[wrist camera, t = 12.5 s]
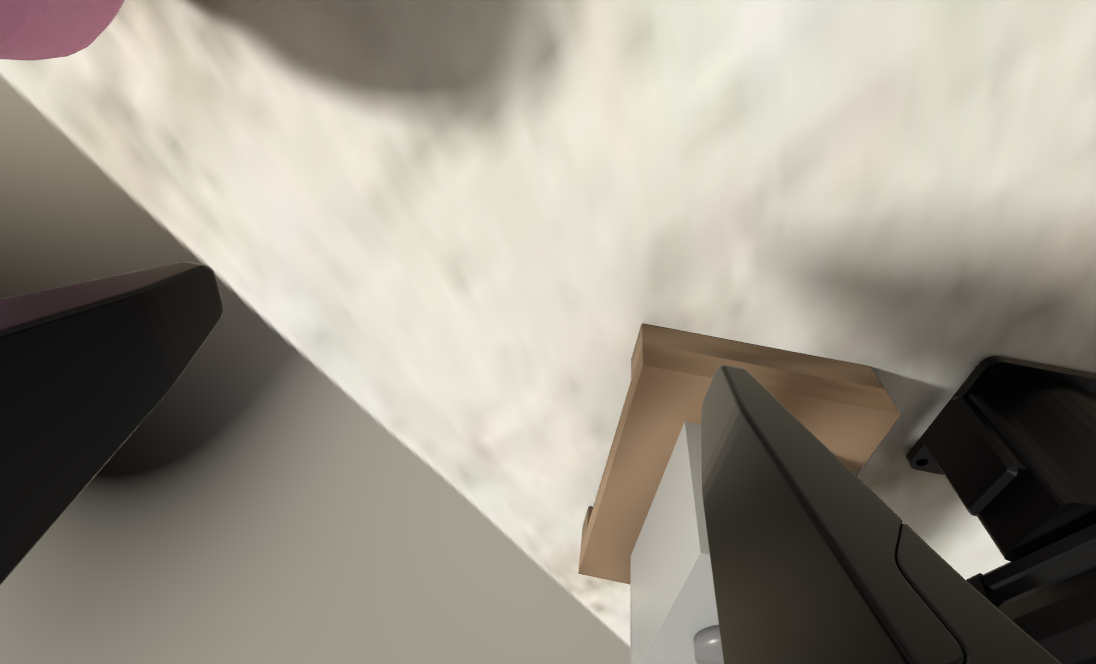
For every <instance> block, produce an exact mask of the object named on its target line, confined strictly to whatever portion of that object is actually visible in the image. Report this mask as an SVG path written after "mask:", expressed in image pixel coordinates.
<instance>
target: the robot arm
mask: <svg viewBox="0 0 1096 664" xmlns="http://www.w3.org/2000/svg"><path fill="white" fill-rule="evenodd" d="M222 314H223V302H222V299H221V295H220V291H219V287H218V283H217V280H216V276H215V273H214V271H213V270H212V269H211V268H210V267H209V266H207V265H202V264H197V263H192V262H179V263H174V264H169V265H164V266H159V267H154V268H150V269H145V270H140V271H135V272H130V273H125V274H120V275H116V276H111V277H106V278H101V279H96V280H91V281H86V282H81V283H77V284H72V285H67V286H62V287H58V288H52V289H48V290H42V291H38V292H33V293H28V294H23V295H18V296H13V297H8V298H4V299H0V585H1V583H2V582H3V581H4V580H5V579H6V578H7V577H8V575H9V574H10V573H11V572H12V571H13V570H14V569H15V567H16V566H17V565H18V564H19V563H20V562H21V561H22V559H23V558H24V557H25V556H26V555H27V554H28V553H29V551H30V550H31V549H32V548H33V547H34V546H35V544H36V543H37V542H38V541H39V540H40V539H41V537H42V536H43V535H44V534H45V533H46V532H47V531H48V530H49V528H50V527H51V526H52V525H53V524H54V523H55V521H56V520H57V519H58V518H59V517H60V516H61V515H62V514H63V512H64V511H65V510H66V509H67V508H68V507H69V505H70V504H71V503H72V502H73V501H74V500H75V499H76V497H77V496H78V495H79V494H80V493H81V491H82V490H83V489H84V488H85V487H86V486H87V485H88V484H89V482H90V481H91V480H92V479H93V478H94V477H95V476H96V474H97V473H98V472H99V471H100V470H101V469H102V468H103V466H104V465H105V464H106V463H107V462H108V461H109V460H110V458H111V457H112V456H113V455H114V454H115V453H116V452H117V450H118V449H119V448H120V447H121V446H122V445H123V443H124V442H125V441H126V440H127V439H128V438H129V437H130V435H131V434H132V433H133V432H134V431H135V430H136V429H137V427H138V426H139V425H140V424H141V423H142V422H143V421H144V419H145V418H146V417H147V416H148V415H149V414H150V412H151V411H152V410H153V409H154V408H155V407H156V406H157V404H158V403H159V402H160V401H161V400H162V399H163V398H164V396H165V395H166V394H167V393H168V391H169V390H170V389H171V388H172V387H173V386H174V384H175V383H176V382H177V380H178V379H179V378H180V376H181V375H182V374H183V372H184V371H185V369H186V368H187V366H188V365H189V364H190V362H191V361H192V359H193V358H194V357H195V355H196V354H197V352H198V351H199V349H200V348H201V347H202V345H203V344H204V342H205V341H206V339H207V338H208V337H209V335H210V334H211V332H212V331H213V329H214V328H215V327H216V325H217V324H218V322H219V321H220V319H221V317H222ZM996 367H997V368H996ZM993 368H996V369H995V370H992V369H993ZM991 370H992V371H991ZM906 459H907V461H908V463H909V464H910V466H911V467H912V468H914V469H916V470H921V471H927V472H932V473H937V474H942V475H945V476H946V478H947V479H948V481H949V483H950V484H951V486H952V487H953V489H954V490H955V492H956V493H957V495H958V496H959V498H960V500H961V501H962V503H963V504H964V506H965V507H966V509H967V510H968V512H969V513H970V514H971V515H975V516H977V517H978V519H979V520H980V522H981V523H982V525H983V526H984V528H985V529H986V531H987V532H988V534H989V535H990V537H991V538H992V540H993V541H994V543H995V544H996V546H997V547H998V549H999V550H1000V552H1001V553H1002V555H1003V557H1004V558H1005V559H1006V560H1008V561H1011V562H1009V563H1007V564H1005V565H1003V566H1001V567H998V568H996V569H994V570H992V571H990V572H988V573H986V574H984V575H983V574H981V573H979V574H977V575H975V576H973V577H971V578H969V579H967V581H966V580H965V579H964V578H963V577H962V576H961V575H960V574H959V573H957V572H956V571H955V570H954V569H953V568H952V567H951V566H950V565H949V564H948V563H947V562H946V561H945V560H944V559H942V558H941V557H940V556H939V555H938V554H937V553H936V552H935V551H934V550H933V549H932V548H931V547H930V546H929V545H928V544H927V543H925V542H924V541H923V540H922V539H921V538H920V537H919V536H918V535H917V534H916V533H915V532H914V531H913V530H912V529H911V528H910V527H909V526H908V525H907V524H902V520H901V519H900V518H899V517H898V516H897V515H896V514H895V513H894V512H893V511H892V510H891V509H890V508H889V507H888V506H887V505H886V504H885V503H884V502H883V501H882V500H881V499H880V498H879V497H878V496H877V495H876V494H875V493H873V492H872V491H871V490H870V489H869V488H868V487H867V486H866V485H865V484H864V483H863V482H862V481H861V480H860V479H859V478H858V477H857V476H856V475H855V474H854V473H853V472H852V471H851V470H850V469H849V468H848V467H846V466H845V465H844V464H843V463H842V462H841V461H840V460H839V459H838V458H837V457H836V456H835V455H834V454H833V453H832V452H831V451H830V450H829V449H828V448H827V447H826V446H825V445H824V444H823V443H822V442H821V441H820V440H818V439H817V438H816V437H815V436H814V435H813V434H812V433H811V432H810V431H809V430H808V429H807V428H806V427H805V426H804V425H803V424H802V423H801V422H800V421H799V420H798V419H797V418H796V417H795V416H794V415H793V414H791V413H790V412H789V411H788V410H787V409H786V408H785V407H784V406H783V405H782V404H781V403H780V402H779V401H778V400H777V399H776V398H775V397H774V396H773V395H772V394H771V393H770V392H769V391H768V390H767V389H766V388H765V387H763V386H762V385H761V384H760V383H759V382H758V381H757V380H756V379H755V378H754V377H753V376H752V375H751V374H750V373H749V372H748V371H747V370H746V369H744V368H740V367H735V366H730V365H720V366H719V367H718V368H717V370H716V372H715V374H714V376H713V379H712V381H711V383H710V386H709V388H708V391H707V393H706V395H705V398H704V400H703V404H702V411H701V472H702V496H703V506H704V513H705V521H706V529H707V537H708V544H709V552H710V560H711V568H712V575H713V583H714V591H715V599H716V606H717V614H718V622H719V630H720V637H721V645H722V653H723V661H724V664H1096V374H1091V373H1086V372H1080V371H1075V370H1070V369H1064V368H1059V367H1053V366H1048V365H1043V364H1037V363H1032V362H1027V361H1021V360H1016V359H1011V358H1005V357H1000V356H992V357H988V358H986V359H984V360H982V361H981V362H980V363H979V364H978V366H977V367H976V368H975V369H974V371H973V372H972V373H971V374H970V376H969V377H968V378H967V379H966V381H965V382H964V383H963V384H962V386H961V387H960V388H959V390H958V391H957V392H956V393H955V395H954V396H953V397H952V398H951V400H950V401H949V402H948V403H947V405H946V406H945V407H944V408H943V410H942V411H941V412H940V414H939V415H938V416H937V417H936V419H935V420H934V421H933V422H932V424H931V425H930V426H929V427H928V429H927V430H926V431H925V432H924V434H923V435H922V436H921V438H920V439H919V440H918V441H917V443H916V444H915V445H914V446H913V448H912V449H911V450H910V451H909V453H908V454H907V456H906Z"/></svg>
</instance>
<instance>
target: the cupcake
mask: <svg viewBox="0 0 1096 664" xmlns="http://www.w3.org/2000/svg"><path fill="white" fill-rule="evenodd" d="M123 2H124V0H0V59H12V60H42V59H50V58H57V57H65V56H69V55H71V54H74V53H76V52H78V51H80V50H82V49H84V48H86V47H88V46H89V45H90V44H91V43H92V42H93V41H94V40H95V39H96V38H97V37H98V36H99V35H100V34H101V33H102V31H103V30H104V29H105V28H106V27H107V26H108V25H109V24H110V23H111V21H112V20H113V19H114V18H115V16H116V15H117V13H118V11H119V10H120V8H121V6H122V4H123Z"/></svg>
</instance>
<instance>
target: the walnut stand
mask: <svg viewBox="0 0 1096 664" xmlns="http://www.w3.org/2000/svg"><path fill="white" fill-rule="evenodd" d="M720 365H730V366H735V367H740V368H744V369H746V370H747V371H748V372H749V373H750V374H751V375H752V376H753V377H754V378H755V379H756V380H757V381H758V382H759V383H760V384H761V385H762V386H763V387H765V388H766V389H767V390H768V391H769V392H770V393H771V394H772V395H773V396H774V397H775V398H776V399H777V400H778V401H779V402H780V403H781V404H782V405H783V406H784V407H785V408H786V409H787V410H788V411H789V412H790V413H791V414H793V415H794V416H795V417H796V418H797V419H798V420H799V421H800V422H801V423H802V424H803V425H804V426H805V427H806V428H807V429H808V430H809V431H810V432H811V433H812V434H813V435H814V436H815V437H816V438H817V439H818V440H820V441H821V442H822V443H823V444H824V445H825V446H826V447H827V448H828V449H829V450H830V451H831V452H832V453H833V454H834V455H835V456H836V457H837V458H838V459H839V460H840V461H841V462H842V463H843V464H844V465H845V466H846V467H848V468H849V469H850V470H851V471H852V472H853V473H854V474H855V475H857V474H858V472H859V471H860V470H861V468H862V467H863V466H864V464H865V463H866V461H867V460H868V459H869V457H870V456H871V455H872V453H873V452H874V451H875V449H876V448H877V446H878V445H879V444H880V442H881V441H882V440H883V438H884V437H885V436H886V434H887V433H888V431H889V430H890V429H891V427H892V426H893V425H894V423H895V422H896V421H897V419H898V418H899V416H900V415H901V414H900V412H899V411H898V409H897V407H896V406H895V404H894V403H893V401H892V400H891V398H890V396H889V395H888V393H887V392H886V390H885V389H884V387H883V385H882V384H881V382H880V381H879V379H878V378H877V376H876V374H875V373H874V371H873V370H872V368H871V367H869V366H864V365H858V364H853V363H848V362H842V361H837V360H832V359H827V358H821V357H816V356H811V355H805V354H800V353H795V352H789V351H784V350H779V349H774V348H768V347H763V346H758V345H752V344H747V343H742V342H737V341H731V340H726V339H721V338H715V337H710V336H705V335H699V334H694V333H689V332H684V331H678V330H673V329H668V328H662V327H657V326H652V325H647V324H642V325H641V328H640V332H639V335H638V339H637V342H636V345H635V349H634V352H633V356H632V359H631V383H630V386H629V390H628V393H627V396H626V400H625V403H624V406H623V410H622V413H621V416H620V420H619V423H618V426H617V430H616V433H615V436H614V440H613V443H612V446H611V450H610V453H609V456H608V460H607V463H606V466H605V470H604V473H603V476H602V480H601V483H600V486H599V490H598V493H597V497H596V500H595V503H594V507H588V511H587V514H586V517H585V521H584V524H583V530H582V541H581V552H580V563H579V573H578V574H583V575H588V576H593V577H598V578H602V579H607V580H612V581H617V582H622V583H626V584H631V554H632V552H633V549H634V547H635V544H636V542H637V539H638V537H639V534H640V532H641V529H642V527H643V524H644V522H645V519H646V517H647V514H648V512H649V509H650V507H651V504H652V502H653V499H654V497H655V494H656V492H657V489H658V487H659V484H660V482H661V479H662V477H663V474H664V472H665V469H666V467H667V464H668V462H669V459H670V457H671V454H672V452H673V449H674V447H675V444H676V442H677V439H678V437H679V435H680V432H681V430H682V427H683V425H684V422H689V423H694V424H699V425H701V411H702V404H703V400H704V398H705V395H706V393H707V391H708V388H709V386H710V383H711V381H712V379H713V376H714V374H715V372H716V370H717V368H718V367H719V366H720Z"/></svg>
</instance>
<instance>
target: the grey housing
mask: <svg viewBox="0 0 1096 664" xmlns="http://www.w3.org/2000/svg"><path fill="white" fill-rule="evenodd" d="M630 652H631V653H630V664H724V661H723V653H722V645H721V637H720V630H719V622H718V614H717V606H716V599H715V591H714V583H713V575H712V568H711V560H710V552H709V544H708V537H707V529H706V521H705V513H704V506H703V496H702V472H701V425H699V424H694V423H689V422H684V425H683V427H682V430H681V432H680V435H679V437H678V439H677V442H676V444H675V447H674V449H673V452H672V454H671V457H670V459H669V462H668V464H667V467H666V469H665V472H664V474H663V477H662V479H661V482H660V484H659V487H658V489H657V492H656V494H655V497H654V499H653V502H652V504H651V507H650V509H649V512H648V514H647V517H646V519H645V522H644V524H643V527H642V529H641V532H640V534H639V537H638V539H637V542H636V544H635V547H634V549H633V552H632V554H631V604H630Z"/></svg>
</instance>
